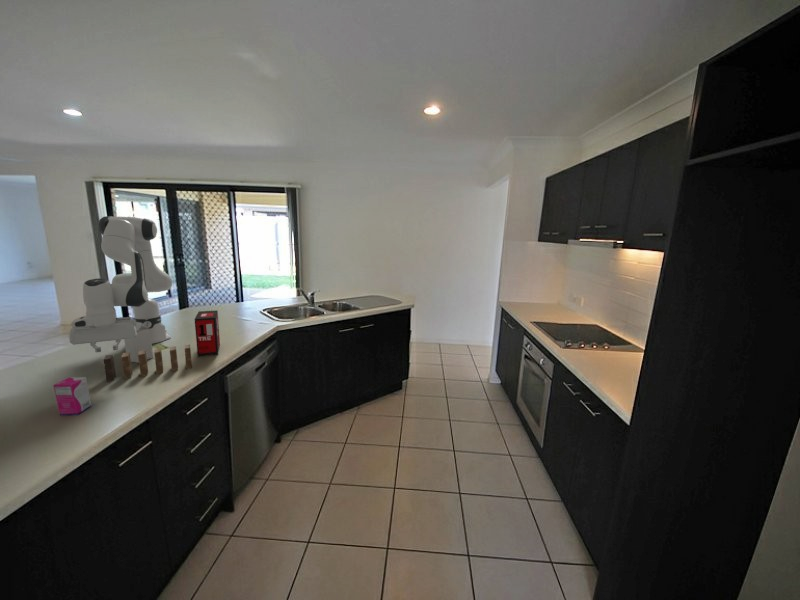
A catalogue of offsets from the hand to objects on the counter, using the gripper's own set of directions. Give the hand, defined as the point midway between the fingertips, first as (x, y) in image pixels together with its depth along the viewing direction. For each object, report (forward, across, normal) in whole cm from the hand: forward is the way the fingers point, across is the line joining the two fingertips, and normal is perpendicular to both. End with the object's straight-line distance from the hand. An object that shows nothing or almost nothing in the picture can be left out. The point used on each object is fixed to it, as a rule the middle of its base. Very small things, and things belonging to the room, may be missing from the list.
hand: (107, 350), depth 131 cm
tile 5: (+13, -22, +1) cm, 25 cm away
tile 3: (+13, -11, +1) cm, 17 cm away
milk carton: (+13, -8, -19) cm, 25 cm away
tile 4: (+13, -16, +1) cm, 21 cm away
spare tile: (+13, 0, +1) cm, 13 cm away
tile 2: (+13, -6, +1) cm, 14 cm away
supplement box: (+12, +6, +26) cm, 29 cm away
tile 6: (+13, -28, +1) cm, 30 cm away
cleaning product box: (+13, -37, -18) cm, 43 cm away
